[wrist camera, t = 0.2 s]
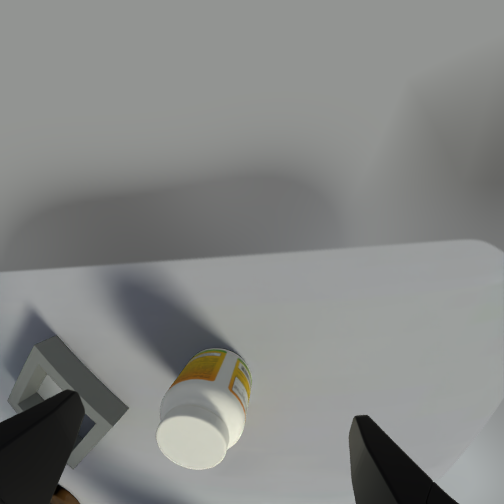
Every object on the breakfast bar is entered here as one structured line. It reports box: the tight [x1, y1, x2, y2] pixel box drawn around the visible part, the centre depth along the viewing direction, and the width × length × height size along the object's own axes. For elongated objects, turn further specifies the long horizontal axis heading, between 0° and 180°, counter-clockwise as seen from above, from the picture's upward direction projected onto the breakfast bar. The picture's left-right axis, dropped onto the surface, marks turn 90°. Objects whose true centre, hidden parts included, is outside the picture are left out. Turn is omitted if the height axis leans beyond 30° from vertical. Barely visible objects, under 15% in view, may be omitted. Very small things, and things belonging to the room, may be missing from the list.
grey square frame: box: [8, 335, 129, 469], centre depth 24 cm, size 10×10×4 cm
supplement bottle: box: [156, 348, 252, 470], centre depth 20 cm, size 5×5×10 cm
